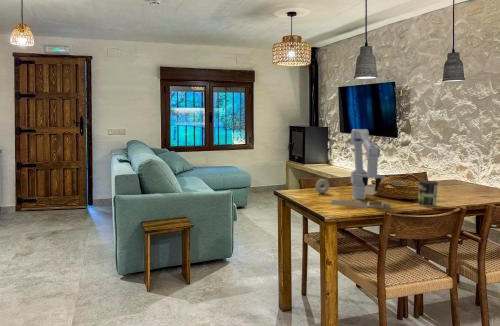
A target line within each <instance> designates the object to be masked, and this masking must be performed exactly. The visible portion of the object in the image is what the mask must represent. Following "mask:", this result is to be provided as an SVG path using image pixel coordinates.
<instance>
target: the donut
mask: <svg viewBox="0 0 500 326" xmlns="http://www.w3.org/2000/svg"><path fill="white" fill-rule="evenodd" d="M322 185H323V188H322V187H321V186H322ZM329 189H330V183H329V181H328V180H327V179H324V178H321V179H318V181H316V183H315V191H316V192H317V193H318V194H321V195H322V194H326V193H328V192H329Z"/></svg>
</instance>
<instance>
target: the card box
mask: <svg viewBox="0 0 500 326" xmlns="http://www.w3.org/2000/svg"><path fill="white" fill-rule="evenodd" d="M375 188H376V184H373V183H372V184H371V183H368V185H366V186H365V195H371V196H374V195H375V194H377V193H378V191H377V192H376V191H375Z"/></svg>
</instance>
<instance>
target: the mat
mask: <svg viewBox="0 0 500 326" xmlns="http://www.w3.org/2000/svg"><path fill="white" fill-rule="evenodd" d="M367 202H368V201H366V202H365V201H351V200H350V201H349V200H338V199H332V200H331V202H330V205H335V206H345V207H346V206H348V207H349V206H352V207H359V208H360V207H362V208H368V207H367ZM369 205H376V206H382V204H378V203H369ZM391 207H392V205H391V203H383V208H382V209H387V210H390V209H391ZM373 208H375V207H373ZM375 209H376V208H375Z"/></svg>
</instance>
